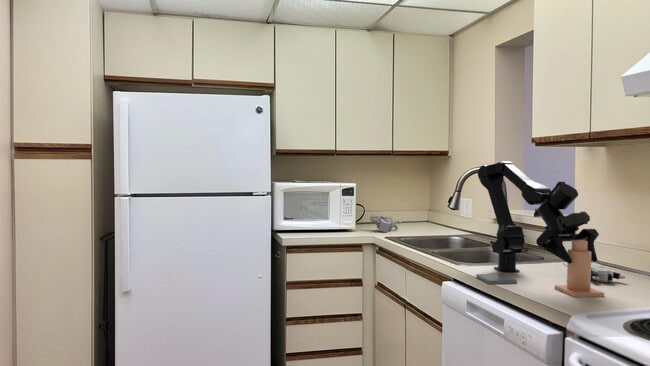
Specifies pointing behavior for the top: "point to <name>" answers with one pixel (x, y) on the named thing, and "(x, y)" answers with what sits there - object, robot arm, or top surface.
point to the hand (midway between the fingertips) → (583, 262)
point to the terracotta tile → (579, 292)
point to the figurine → (384, 223)
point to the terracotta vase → (579, 267)
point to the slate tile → (496, 278)
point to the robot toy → (602, 273)
